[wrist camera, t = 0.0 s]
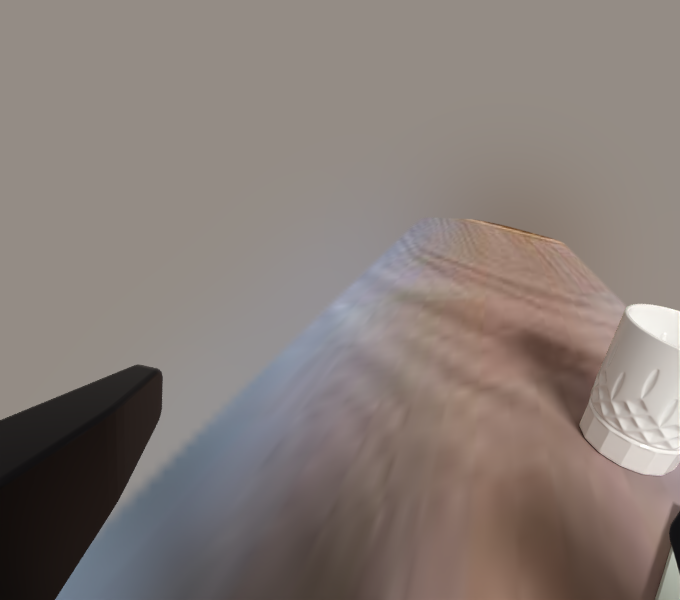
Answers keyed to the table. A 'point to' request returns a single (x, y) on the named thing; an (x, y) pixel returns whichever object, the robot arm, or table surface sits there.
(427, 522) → the table surface
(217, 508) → the table surface
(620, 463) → the white cup
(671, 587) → the rubber mat
